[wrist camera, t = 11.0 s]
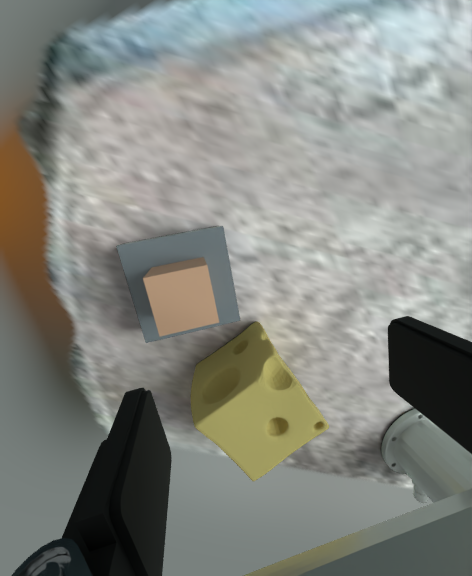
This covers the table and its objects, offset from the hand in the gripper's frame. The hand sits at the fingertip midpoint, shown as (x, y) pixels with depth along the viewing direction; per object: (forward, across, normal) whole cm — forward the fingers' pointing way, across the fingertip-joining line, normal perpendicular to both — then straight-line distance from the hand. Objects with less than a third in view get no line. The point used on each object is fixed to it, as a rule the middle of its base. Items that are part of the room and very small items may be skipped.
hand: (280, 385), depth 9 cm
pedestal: (+21, +4, -1) cm, 21 cm away
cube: (+17, +4, -1) cm, 17 cm away
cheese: (+21, -1, +13) cm, 25 cm away
